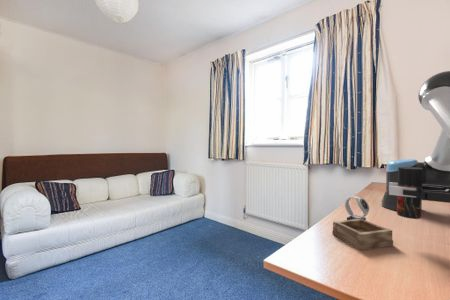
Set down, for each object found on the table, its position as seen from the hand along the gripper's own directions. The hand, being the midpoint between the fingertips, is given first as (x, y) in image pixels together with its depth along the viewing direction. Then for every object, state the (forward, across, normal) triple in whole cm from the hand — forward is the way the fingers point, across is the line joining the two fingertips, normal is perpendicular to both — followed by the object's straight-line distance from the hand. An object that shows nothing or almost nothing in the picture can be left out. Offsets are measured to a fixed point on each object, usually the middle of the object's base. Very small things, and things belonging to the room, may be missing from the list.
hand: (389, 188), depth 73 cm
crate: (+7, -5, -17) cm, 19 cm away
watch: (+10, +8, -17) cm, 21 cm away
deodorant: (-5, 0, -8) cm, 10 cm away
